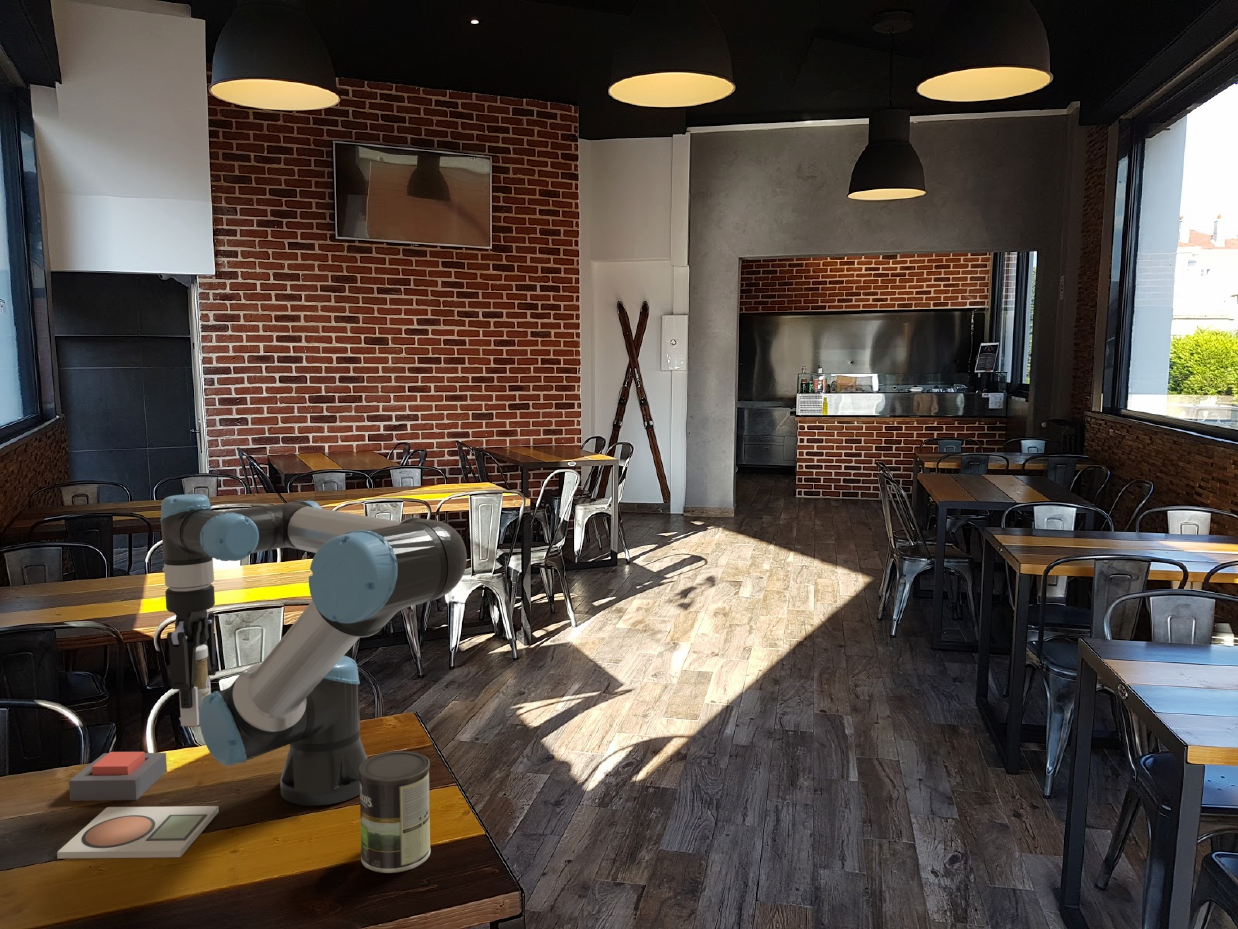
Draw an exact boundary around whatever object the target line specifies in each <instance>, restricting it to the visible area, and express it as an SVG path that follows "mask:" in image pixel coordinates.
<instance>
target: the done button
mask: <svg viewBox="0 0 1238 929" xmlns="http://www.w3.org/2000/svg"><path fill="white" fill-rule="evenodd" d="M145 753H146V752H145V751H110V752H108V754H107V755H106V756H105V757H103V758H102V759H101V760H100V761H98V762H97V763H96V764H95V765H93V766H92V775H130V774H131V773H132V772H133V771H135V770H136V769H137V768H138V767H139V766H140V765H141V764H143V763H144V762H145Z"/></svg>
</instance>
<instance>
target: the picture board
mask: <svg viewBox="0 0 1238 929" xmlns="http://www.w3.org/2000/svg"><path fill="white" fill-rule="evenodd" d="M219 808H220V807H219V805H211V806H210V805H203V806H200V805H199V806H196V805H195V806H191V805H190V806H188V805H187V806H185V805H184V806H181V805H180V806H107V807H106V808H104V809H103V810H102V811H101V812H99V814H97V816H95V817H94V818H93V819H92V820H91V821H90V822H89V823H88V824H87V825H86V826H84V827H83V828H82V829H81V830H79V832H78V833H77V834H76V835H74V837H72V838H71V839H70V840H69V841H68V842H67V843H65V844H64V845H63V846H62V847H61V848H60V849H59V850H58V851H57V852H56V856H57V857H56V858H57V859H121V858H122V859H129V858H133V859H135V858H140V859H141V858H142V859H145V858H150V859H151V858H181V857H182V856H183V855H184V853H185V852H186V851H187V850H188V849H189V847H190V846H192V844H193V843H194V842H195V840H196V839H197V838H198V837H199V836H200V835H201V833H203V831H204V830H205V829H206V827H208V825H209V824H210V823H211V822H212V821H213V819H215V817H216V816H217V815H218V814H219V812H220V811H219Z"/></svg>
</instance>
